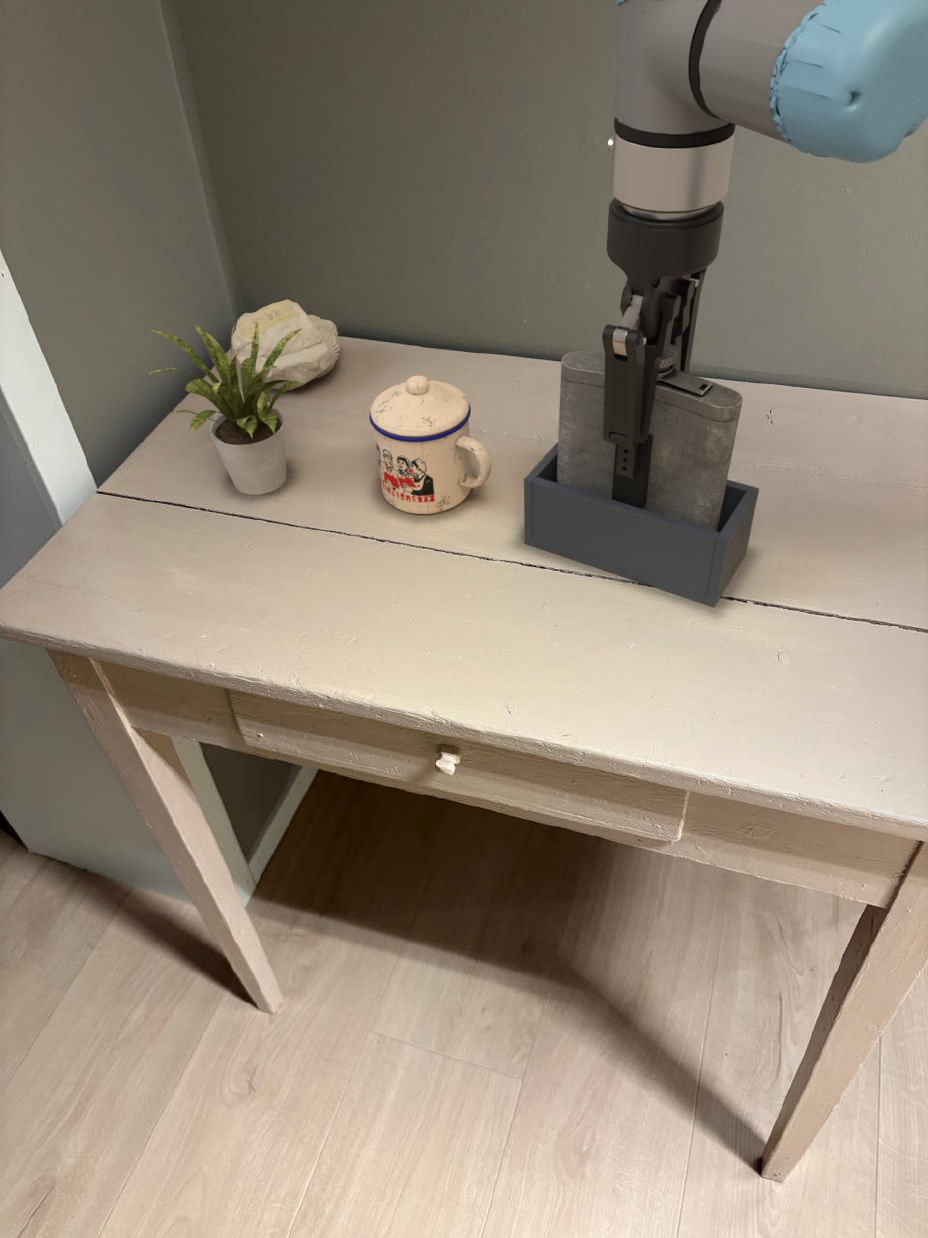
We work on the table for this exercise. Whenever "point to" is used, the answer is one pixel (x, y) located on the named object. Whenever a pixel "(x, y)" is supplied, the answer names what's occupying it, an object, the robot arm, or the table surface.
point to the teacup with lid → (425, 446)
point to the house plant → (242, 414)
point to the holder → (638, 535)
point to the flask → (682, 438)
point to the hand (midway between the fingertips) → (639, 487)
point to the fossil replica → (301, 354)
